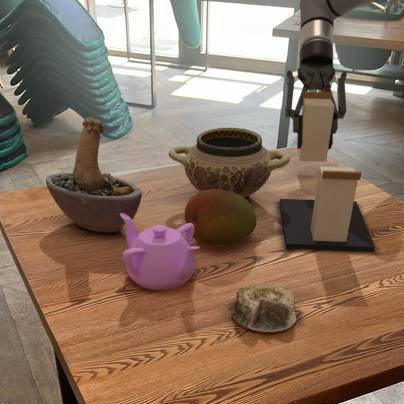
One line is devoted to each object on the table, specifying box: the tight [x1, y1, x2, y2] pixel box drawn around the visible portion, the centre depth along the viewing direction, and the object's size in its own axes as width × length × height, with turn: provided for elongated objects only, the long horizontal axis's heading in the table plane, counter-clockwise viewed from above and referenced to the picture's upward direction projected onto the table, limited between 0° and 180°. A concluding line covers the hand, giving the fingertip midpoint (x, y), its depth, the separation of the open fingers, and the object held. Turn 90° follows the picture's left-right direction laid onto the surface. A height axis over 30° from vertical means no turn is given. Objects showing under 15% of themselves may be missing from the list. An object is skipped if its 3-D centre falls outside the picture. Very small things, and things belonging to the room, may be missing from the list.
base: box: [278, 166, 376, 253], centre depth 108 cm, size 16×20×14 cm
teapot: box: [120, 213, 201, 291], centre depth 94 cm, size 12×14×9 cm
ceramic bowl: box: [167, 127, 291, 202], centre depth 117 cm, size 24×18×15 cm
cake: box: [231, 283, 297, 333], centre depth 86 cm, size 10×10×5 cm
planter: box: [45, 116, 143, 234], centre depth 104 cm, size 15×17×20 cm
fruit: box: [184, 189, 258, 247], centre depth 103 cm, size 12×13×10 cm
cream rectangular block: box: [296, 91, 334, 163], centre depth 128 cm, size 6×6×13 cm
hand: (314, 145), depth 127 cm, fingers closed on cream rectangular block, 6 cm apart
